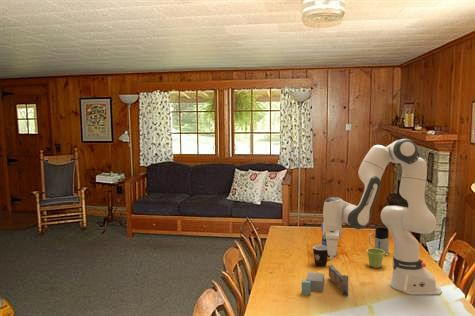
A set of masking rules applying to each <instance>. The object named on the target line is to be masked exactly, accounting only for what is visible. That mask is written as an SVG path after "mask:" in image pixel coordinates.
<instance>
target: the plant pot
mask: <svg viewBox="0 0 475 316" xmlns="http://www.w3.org/2000/svg"><path fill="white" fill-rule="evenodd" d="M366 252H367V256H368V262H369V267H371V268H373V267H374V269H379V268H381V267H382V264H383V257H384V256H383V255H384V253H385V251H383V250H381V249H376V248H375V247H374V248H373V247H370V248H368V249H366Z"/></svg>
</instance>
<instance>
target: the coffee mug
mask: <svg viewBox="0 0 475 316" xmlns="http://www.w3.org/2000/svg"><path fill="white" fill-rule="evenodd" d="M312 252H313V259H314V260H313V262H314V266H316V267H320V268H323V267H327V263H328V262H330V261H331V260H330V258H329V259H328V257H327V256H328V252H327V246H323V245H322V244H318V245H314V246H312ZM334 257H335V256H333V258H334Z"/></svg>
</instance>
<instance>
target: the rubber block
mask: <svg viewBox="0 0 475 316" xmlns="http://www.w3.org/2000/svg"><path fill="white" fill-rule="evenodd" d="M305 280H307V281H311V291H315V290H316V292H323V291H324V287H325V273H320V272H319V273H318V272H310V271H307V275H306V278H305Z"/></svg>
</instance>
